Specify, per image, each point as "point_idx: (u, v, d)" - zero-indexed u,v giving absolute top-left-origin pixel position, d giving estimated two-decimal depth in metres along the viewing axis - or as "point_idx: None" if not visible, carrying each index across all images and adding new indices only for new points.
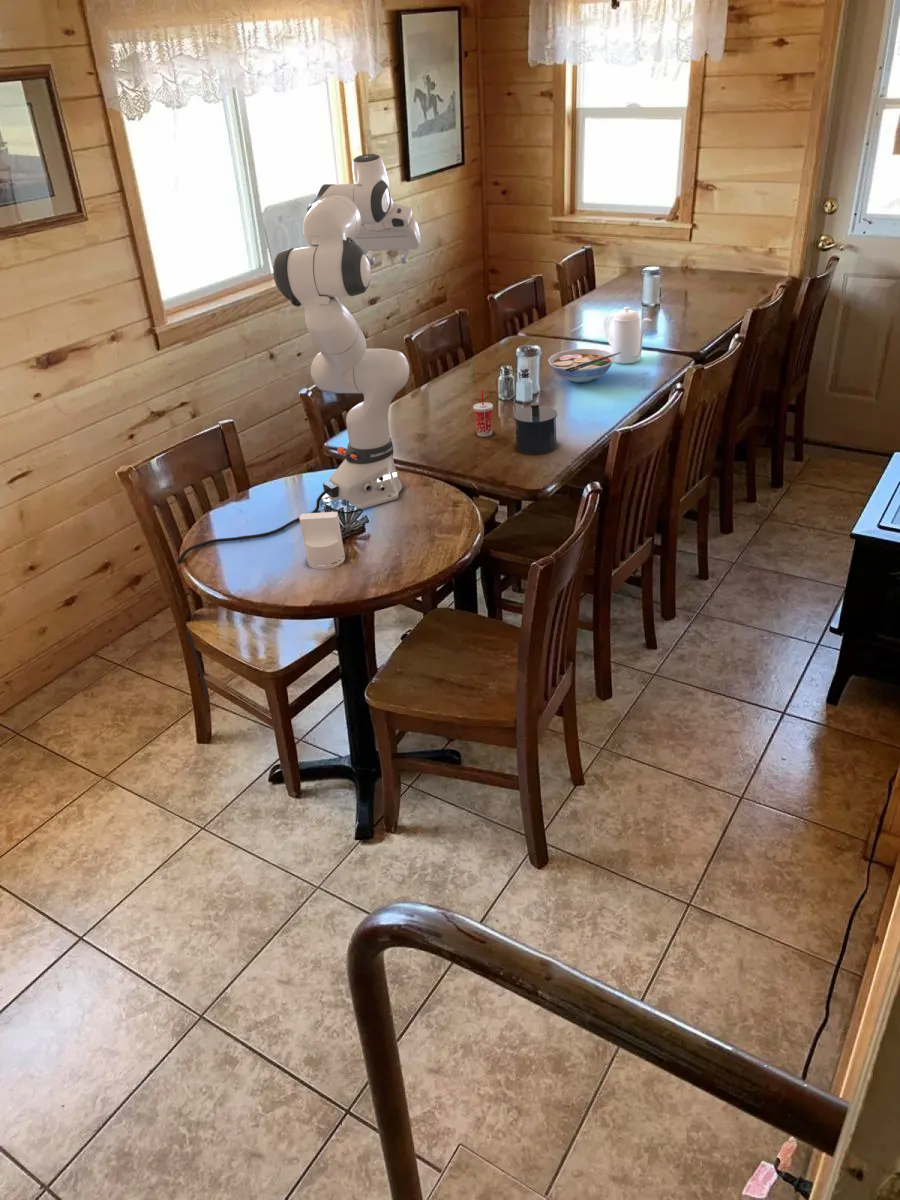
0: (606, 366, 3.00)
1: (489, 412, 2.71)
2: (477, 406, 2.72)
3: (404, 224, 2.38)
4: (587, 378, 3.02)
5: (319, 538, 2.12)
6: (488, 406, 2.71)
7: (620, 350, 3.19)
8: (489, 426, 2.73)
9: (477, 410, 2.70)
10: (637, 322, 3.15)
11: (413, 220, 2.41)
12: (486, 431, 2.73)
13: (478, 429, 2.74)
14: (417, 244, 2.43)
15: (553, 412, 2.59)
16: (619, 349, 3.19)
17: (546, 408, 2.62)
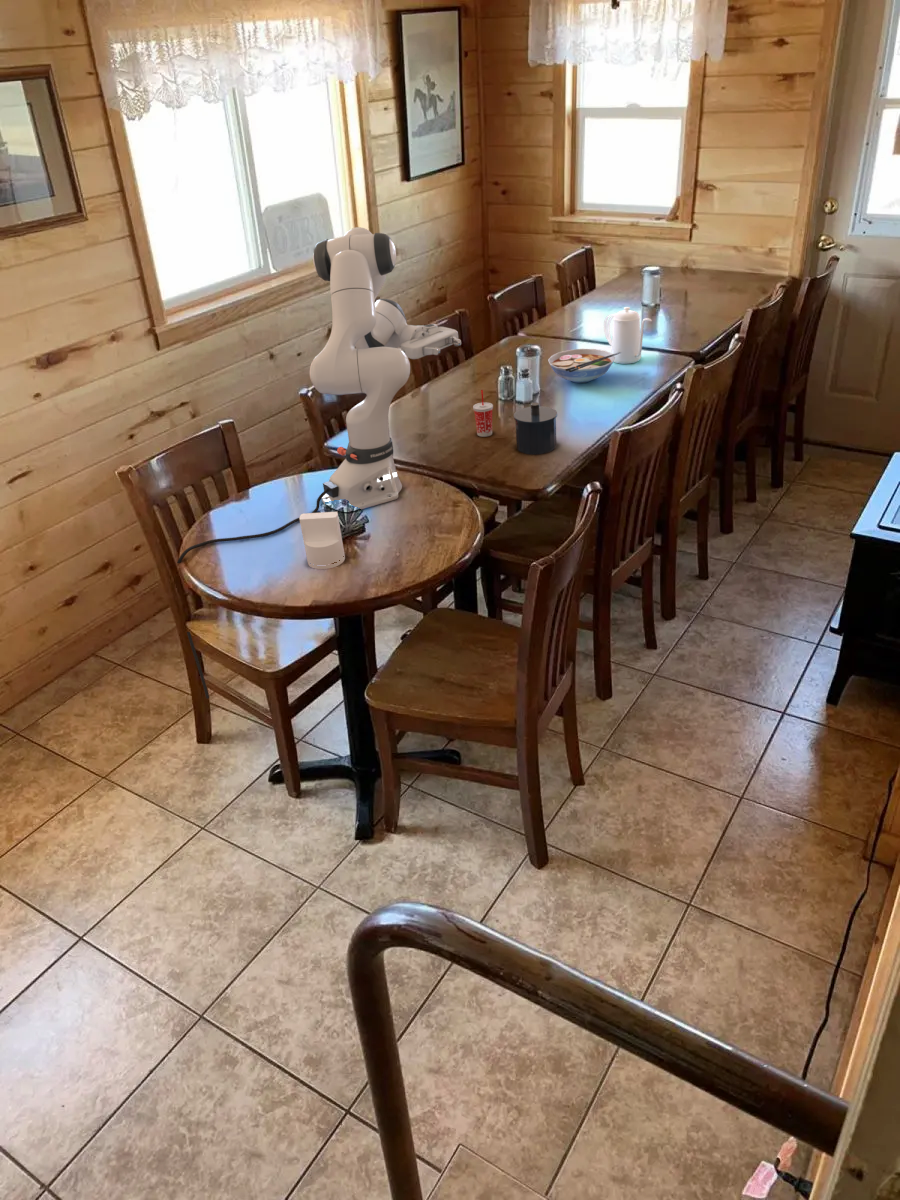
0: (606, 366, 3.00)
1: (489, 412, 2.71)
2: (477, 406, 2.72)
3: (434, 324, 2.81)
4: (587, 378, 3.02)
5: (319, 538, 2.12)
6: (488, 406, 2.71)
7: (620, 350, 3.19)
8: (489, 426, 2.73)
9: (477, 410, 2.70)
10: (637, 322, 3.15)
11: None
12: (486, 431, 2.73)
13: (478, 429, 2.74)
14: None
15: (553, 412, 2.59)
16: (619, 349, 3.19)
17: (546, 408, 2.62)
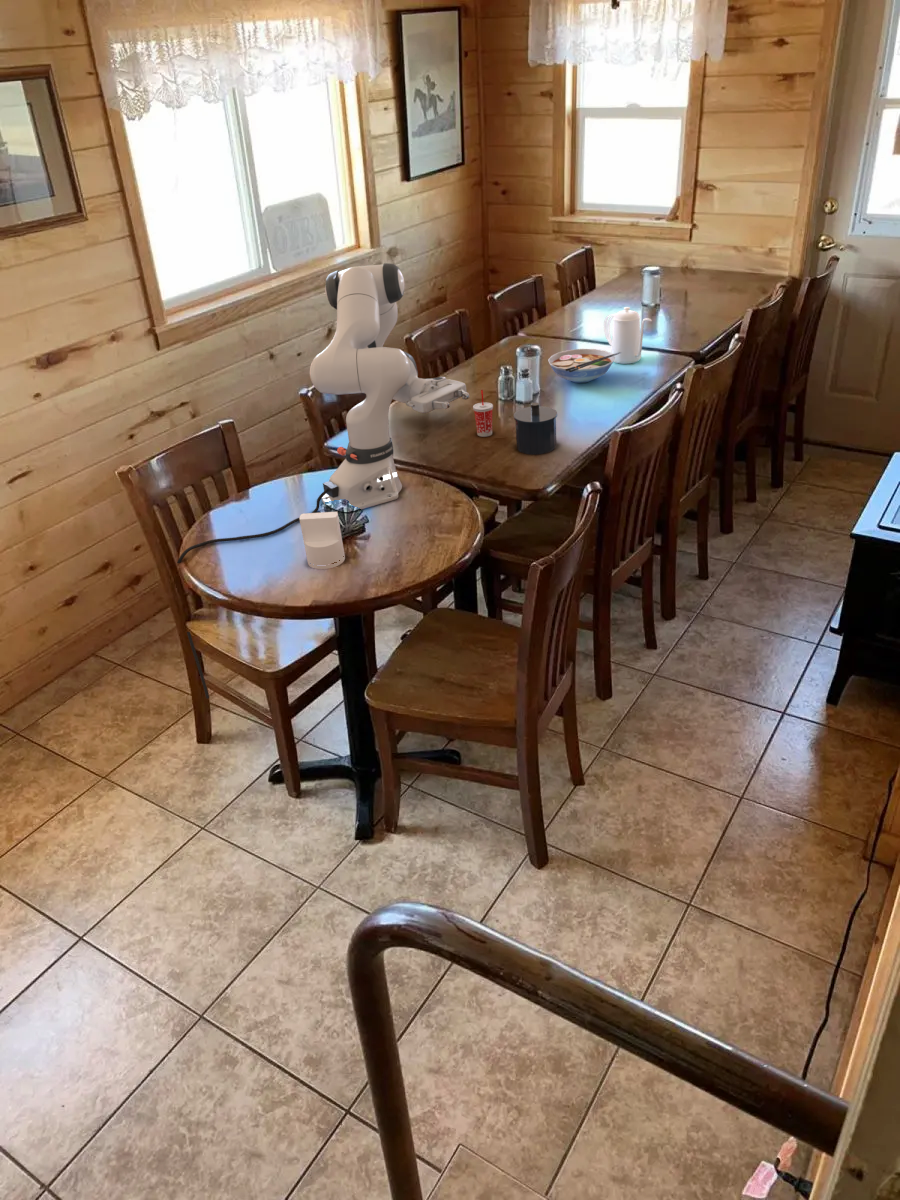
0: (606, 366, 3.00)
1: (489, 412, 2.71)
2: (477, 406, 2.72)
3: (442, 377, 2.88)
4: (587, 378, 3.02)
5: (319, 538, 2.12)
6: (488, 406, 2.71)
7: (620, 350, 3.19)
8: (489, 426, 2.73)
9: (477, 410, 2.70)
10: (637, 322, 3.15)
11: None
12: (486, 431, 2.73)
13: (478, 429, 2.74)
14: None
15: (553, 412, 2.59)
16: (619, 349, 3.19)
17: (546, 408, 2.62)
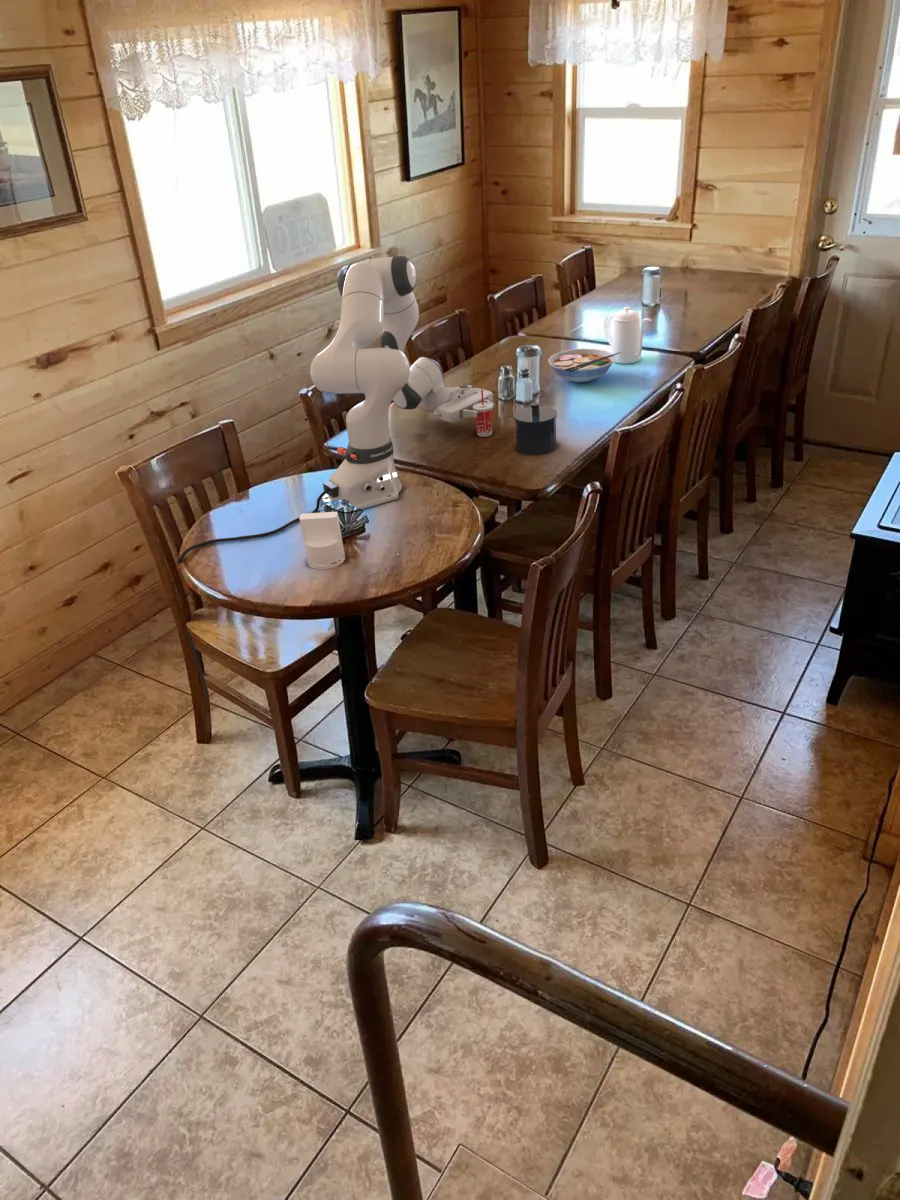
0: (606, 366, 3.00)
1: (489, 412, 2.71)
2: (477, 406, 2.72)
3: (469, 386, 2.82)
4: (587, 378, 3.02)
5: (319, 538, 2.12)
6: (488, 406, 2.71)
7: (620, 350, 3.19)
8: (489, 426, 2.73)
9: None
10: (637, 322, 3.15)
11: None
12: (486, 431, 2.73)
13: (478, 429, 2.74)
14: (489, 391, 2.80)
15: (553, 412, 2.59)
16: (619, 349, 3.19)
17: (546, 408, 2.62)
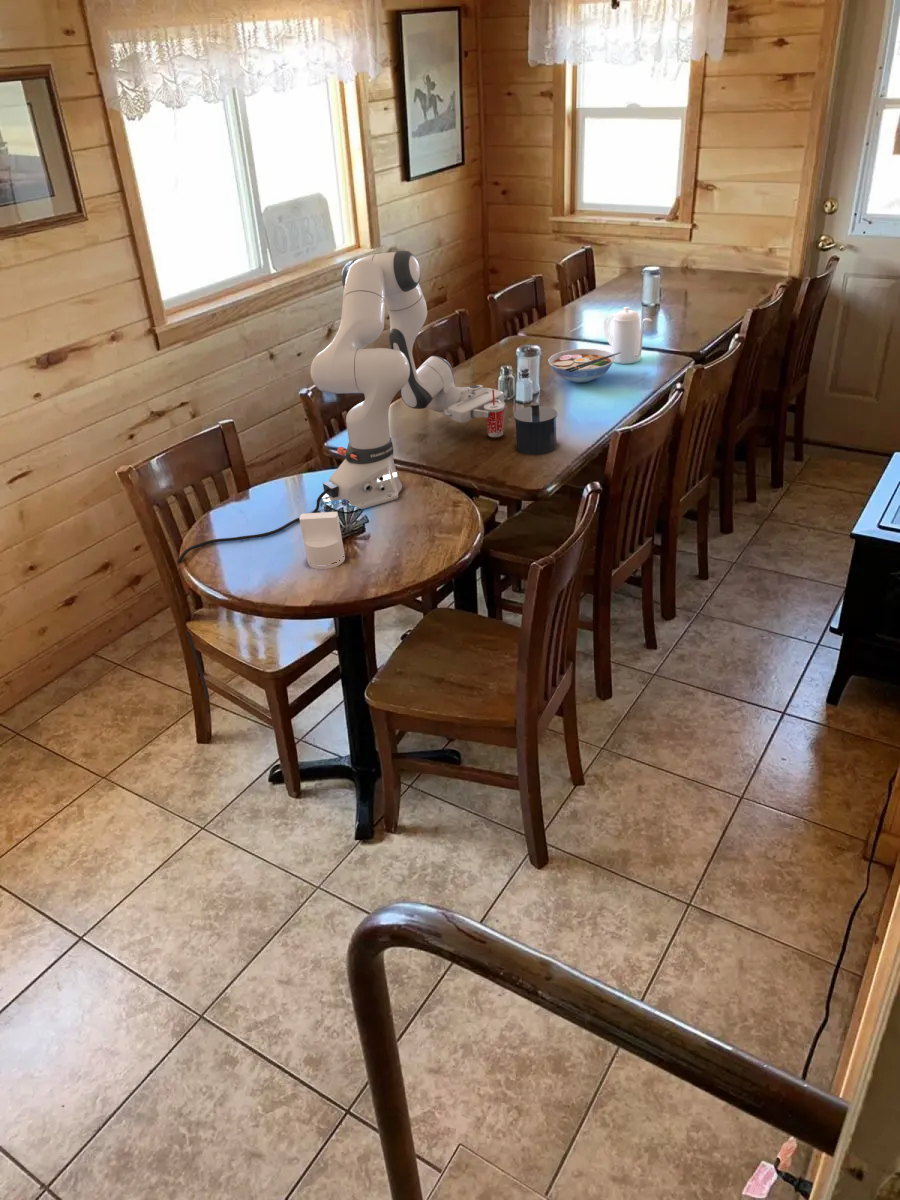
0: (606, 366, 3.00)
1: (500, 412, 2.67)
2: (488, 406, 2.69)
3: (479, 385, 2.79)
4: (587, 378, 3.02)
5: (319, 538, 2.12)
6: (499, 406, 2.68)
7: (620, 350, 3.19)
8: (500, 426, 2.70)
9: (488, 410, 2.67)
10: (637, 322, 3.15)
11: None
12: (497, 431, 2.70)
13: (489, 429, 2.71)
14: (500, 391, 2.77)
15: (553, 412, 2.59)
16: (619, 349, 3.19)
17: (546, 408, 2.62)
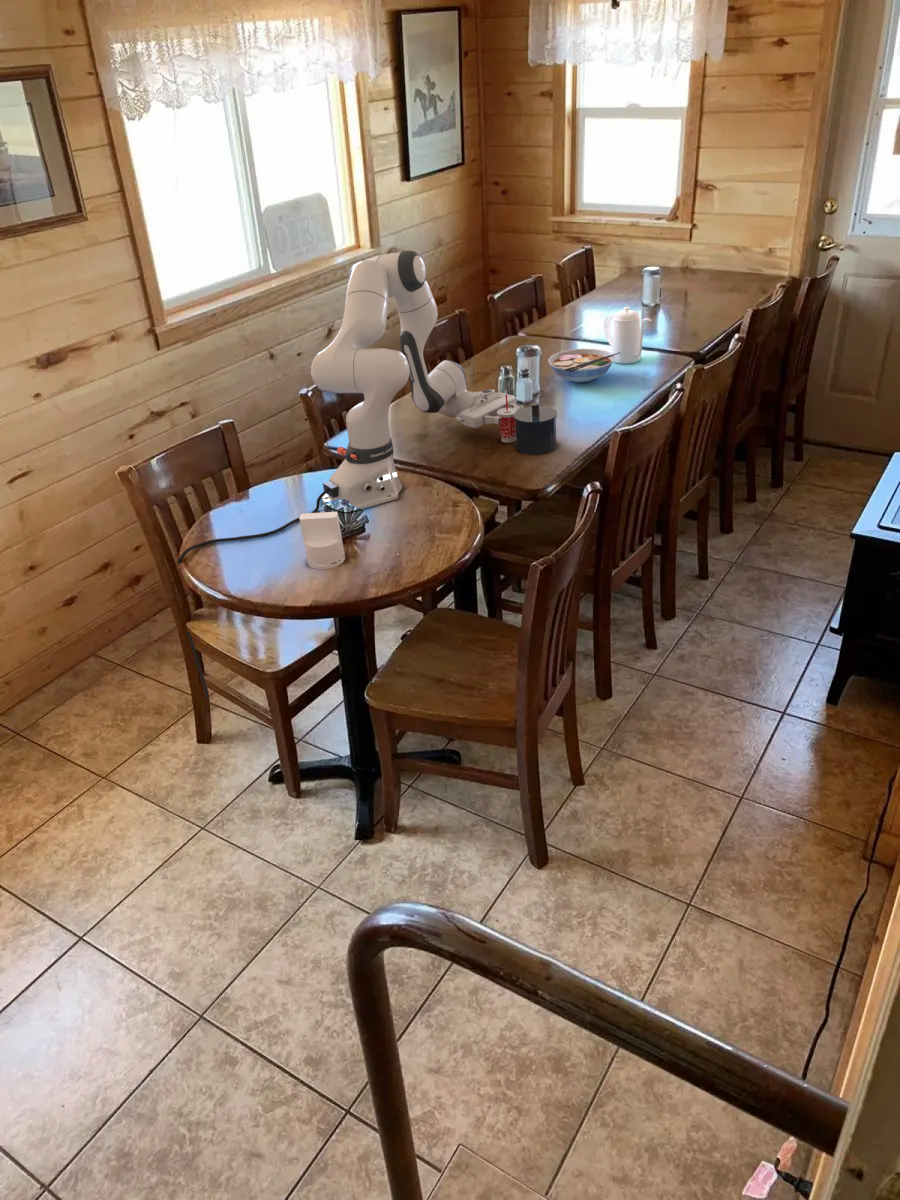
0: (606, 366, 3.00)
1: None
2: (501, 411, 2.66)
3: (491, 390, 2.77)
4: (587, 378, 3.02)
5: (319, 538, 2.12)
6: (512, 411, 2.66)
7: (620, 350, 3.19)
8: (513, 432, 2.68)
9: (501, 416, 2.64)
10: (637, 322, 3.15)
11: None
12: (510, 437, 2.68)
13: (502, 435, 2.68)
14: (513, 396, 2.75)
15: (553, 412, 2.59)
16: (619, 349, 3.19)
17: (546, 408, 2.62)
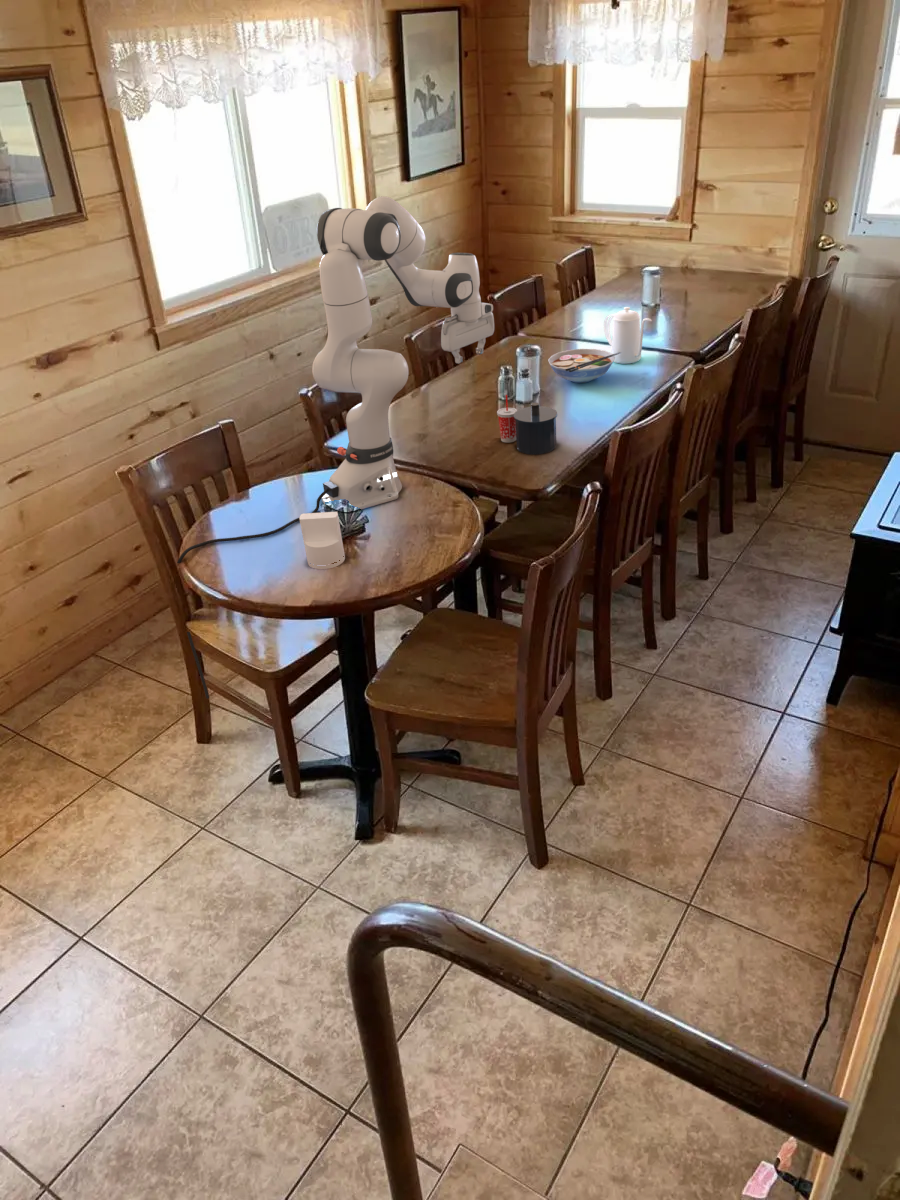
0: (606, 366, 3.00)
1: None
2: (501, 411, 2.66)
3: (491, 309, 2.62)
4: (587, 378, 3.02)
5: (319, 538, 2.12)
6: (512, 411, 2.66)
7: (620, 350, 3.19)
8: (513, 432, 2.68)
9: (501, 416, 2.64)
10: (637, 322, 3.15)
11: None
12: (510, 437, 2.68)
13: (502, 435, 2.68)
14: None
15: (553, 412, 2.59)
16: (619, 349, 3.19)
17: (546, 408, 2.62)
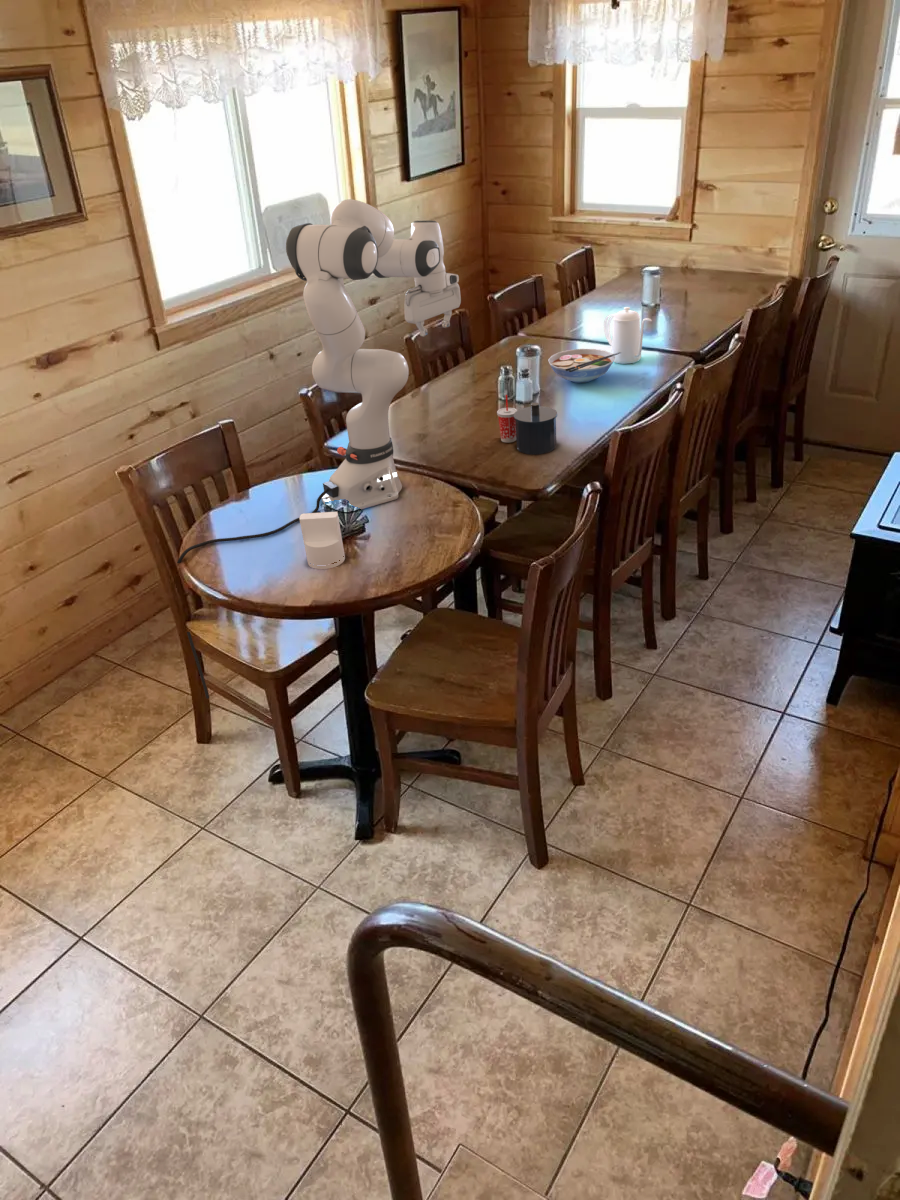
0: (606, 366, 3.00)
1: None
2: (501, 411, 2.66)
3: (457, 280, 2.53)
4: (587, 378, 3.02)
5: (319, 538, 2.12)
6: (512, 411, 2.66)
7: (620, 350, 3.19)
8: (513, 432, 2.68)
9: (501, 415, 2.64)
10: (637, 322, 3.15)
11: None
12: (510, 437, 2.68)
13: (502, 435, 2.68)
14: (460, 301, 2.59)
15: (553, 412, 2.59)
16: (619, 349, 3.19)
17: (546, 408, 2.62)
